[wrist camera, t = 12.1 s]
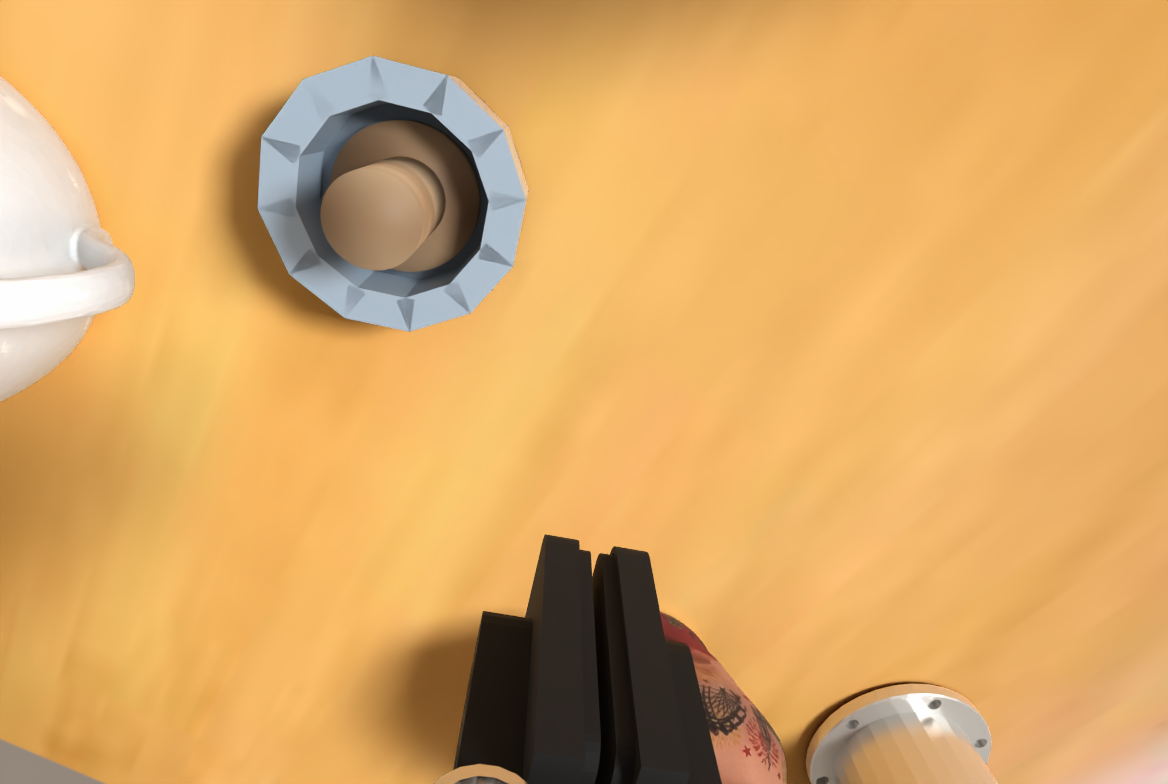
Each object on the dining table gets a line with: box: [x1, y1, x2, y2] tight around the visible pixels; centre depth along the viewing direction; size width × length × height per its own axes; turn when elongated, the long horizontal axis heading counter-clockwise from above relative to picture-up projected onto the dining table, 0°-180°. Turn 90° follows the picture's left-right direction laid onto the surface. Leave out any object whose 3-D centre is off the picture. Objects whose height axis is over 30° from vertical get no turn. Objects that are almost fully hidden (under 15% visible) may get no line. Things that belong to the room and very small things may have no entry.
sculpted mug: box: [660, 612, 787, 784], centre depth 38 cm, size 20×12×14 cm, turn 62°
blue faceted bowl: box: [257, 56, 529, 332], centre depth 30 cm, size 11×11×4 cm
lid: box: [320, 119, 481, 272], centre depth 28 cm, size 6×6×7 cm
